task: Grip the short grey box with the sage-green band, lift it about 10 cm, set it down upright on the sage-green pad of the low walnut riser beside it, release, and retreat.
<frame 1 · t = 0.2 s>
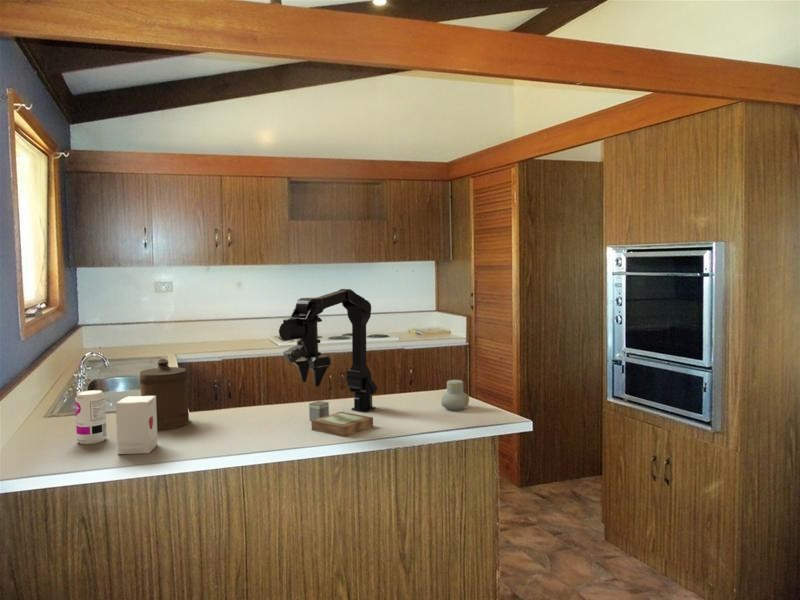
hand: (310, 384, 208), 14 cm above the worktop, fingers open, 9 cm apart
supplement can: (92, 441, 195), on the worktop
riser: (342, 428, 206), on the worktop
air freshener: (455, 409, 230), on the worktop
grey box: (319, 420, 216), on the worktop
wooden container: (165, 424, 213), on the worktop
supplement box: (138, 450, 186), on the worktop
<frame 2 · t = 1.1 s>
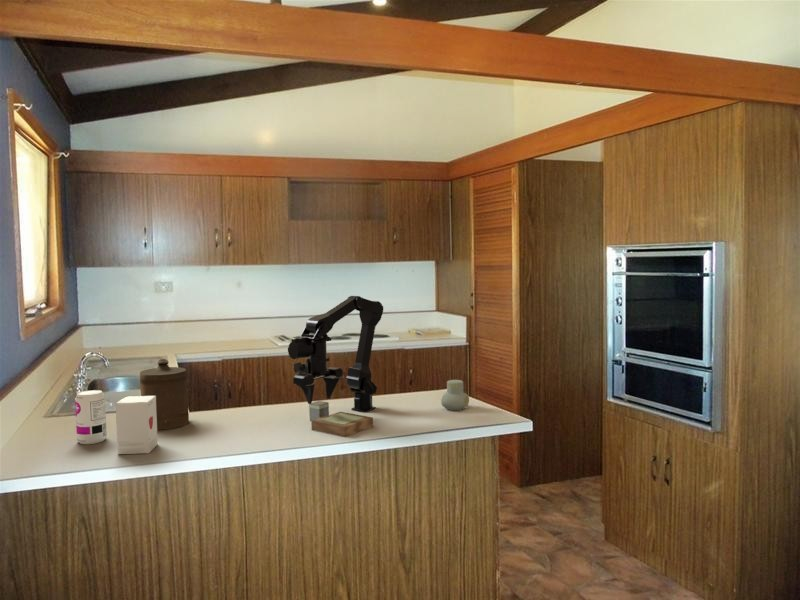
hand: (319, 401, 215), 7 cm above the worktop, fingers open, 9 cm apart
nothing on the worktop moved.
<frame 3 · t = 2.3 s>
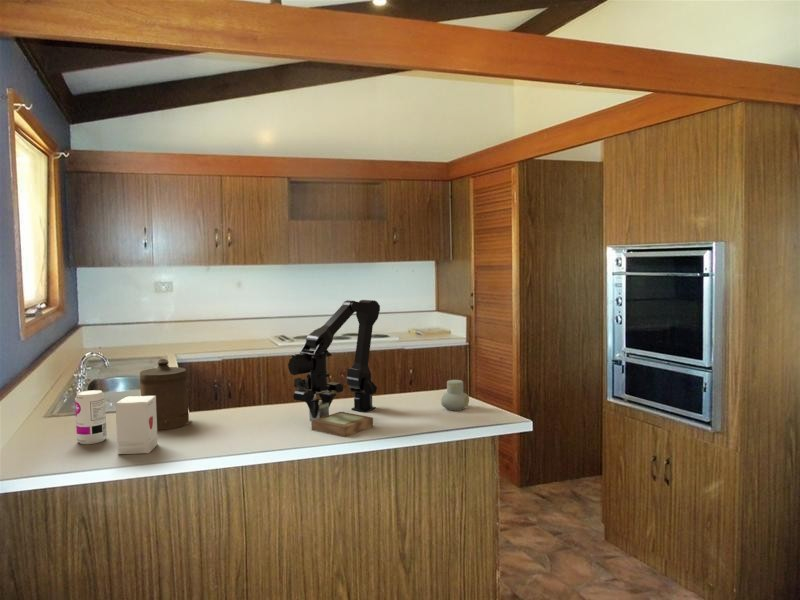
hand: (319, 416, 216), 1 cm above the worktop, fingers closed on grey box, 5 cm apart
grey box: (319, 420, 216), on the worktop, touching gripper
everything else where it was.
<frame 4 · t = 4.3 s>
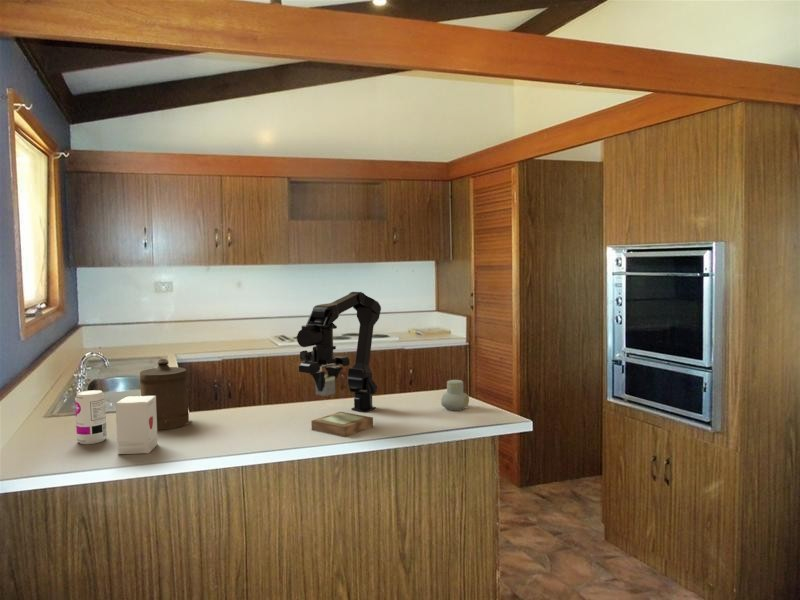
hand: (325, 390, 212), 11 cm above the worktop, fingers closed on grey box, 5 cm apart
grey box: (325, 393, 212), point 10 cm above the worktop, touching gripper
everything else where it was.
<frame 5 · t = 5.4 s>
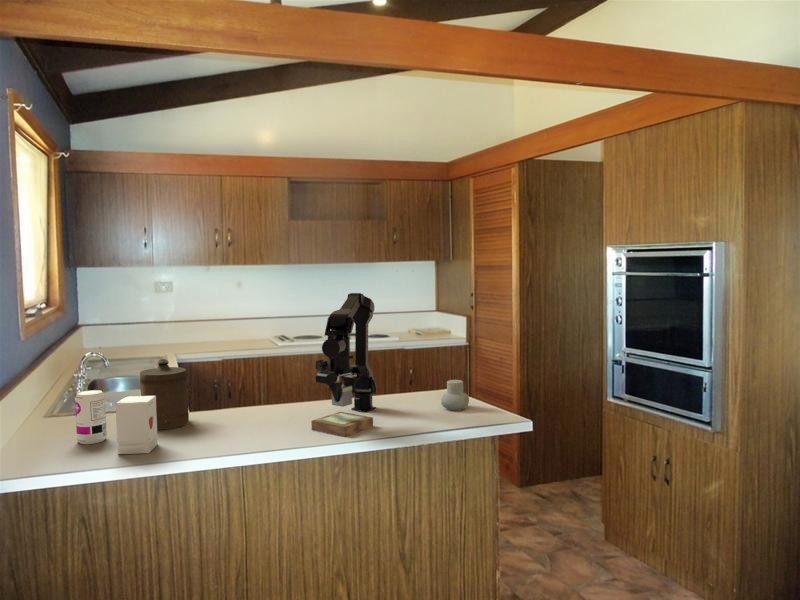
hand: (342, 400, 205), 9 cm above the worktop, fingers closed on grey box, 5 cm apart
grey box: (342, 404, 205), point 8 cm above the worktop, touching gripper
everything else where it was.
when the fingers open (6 cm above the worktop, at t = 6.3 s): grey box drops 1 cm, resting on riser.
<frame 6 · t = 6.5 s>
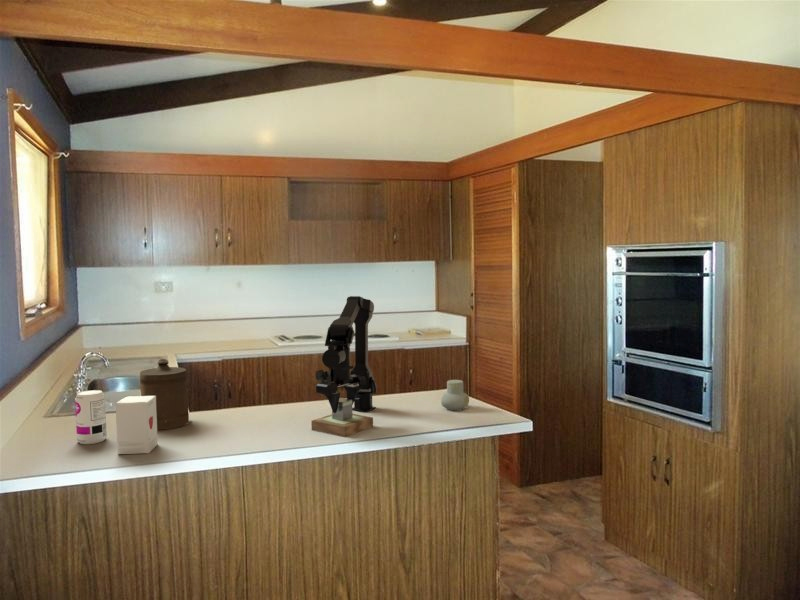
hand: (342, 410, 205), 6 cm above the worktop, fingers open, 7 cm apart
grey box: (342, 418, 205), point 3 cm above the worktop, touching riser
everything else where it was.
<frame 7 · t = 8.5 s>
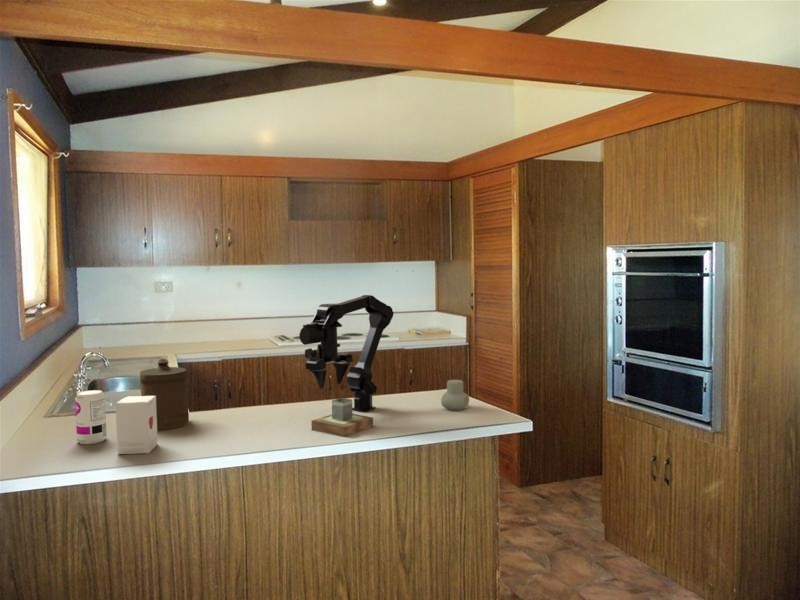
hand: (330, 386, 219), 11 cm above the worktop, fingers open, 9 cm apart
nothing on the worktop moved.
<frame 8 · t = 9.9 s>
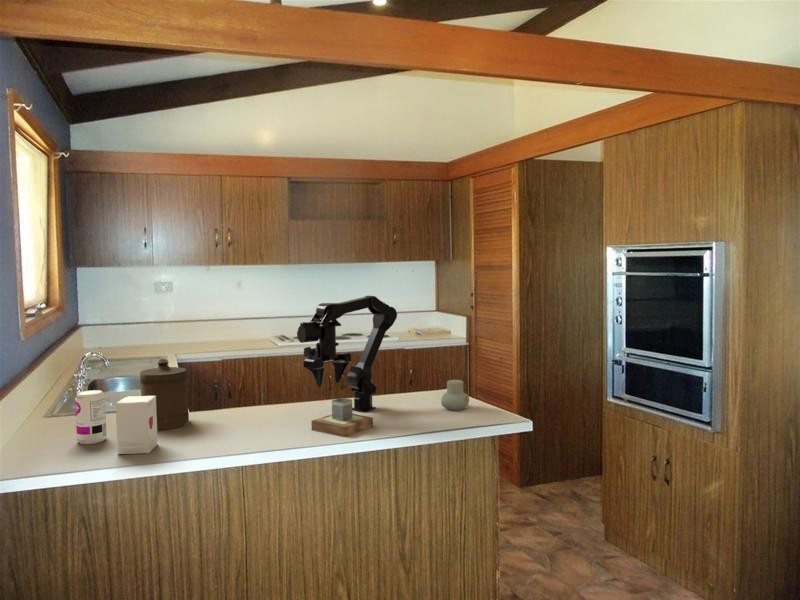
hand: (328, 384, 220), 11 cm above the worktop, fingers open, 9 cm apart
nothing on the worktop moved.
at the end: grey box inside the target area on the riser (0.1 cm from its centre), point 3.2 cm above the riser's base; grey box tilted 0°; the gripper is holding nothing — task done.
